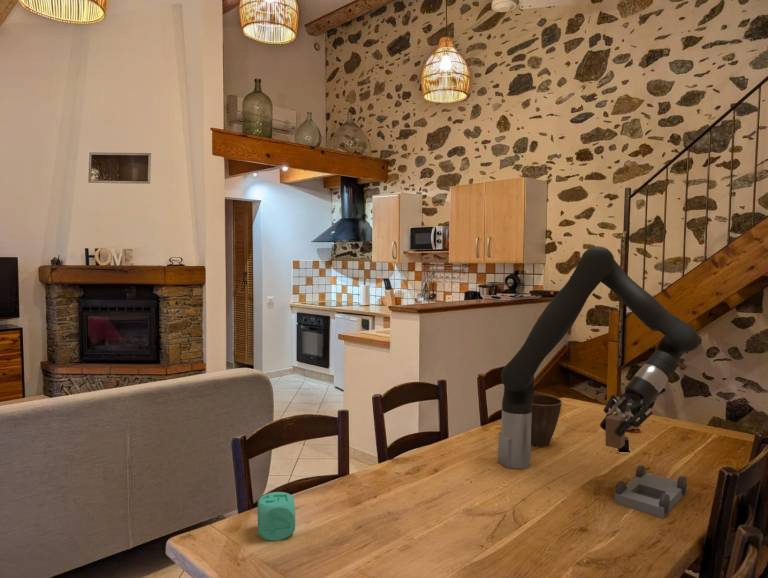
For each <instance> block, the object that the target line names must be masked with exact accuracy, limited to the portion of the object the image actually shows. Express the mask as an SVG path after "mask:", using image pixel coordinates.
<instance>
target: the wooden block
mask: <svg viewBox="0 0 768 578" xmlns="http://www.w3.org/2000/svg"><path fill="white" fill-rule="evenodd" d="M605 417H606V416H605ZM622 421H623V422H624V417H623V416H617V415H614V414H613V415H609V416H607V417H606V430H605V446H607V447H610V448H614V449H615V448H618V449H620V448H622V447H623V446H624V445H625V437H626V433H625V434H624V435H622V436H621V437H619V436H617V435H616V434H615V432H614V431H615V429H616V428H617V427H618V426H619V424H620V423H621V422H622Z"/></svg>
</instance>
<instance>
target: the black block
mask: <svg viewBox="0 0 768 578" xmlns="http://www.w3.org/2000/svg"><path fill="white" fill-rule="evenodd" d="M629 446H630V439H629V437H628V436H625V445H624V446H623V447H622V448H620V449H618V448H617V449H618V450H617V451H619V452H629V453H630V450H629Z"/></svg>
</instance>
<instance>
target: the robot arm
mask: <svg viewBox="0 0 768 578" xmlns="http://www.w3.org/2000/svg"><path fill="white" fill-rule="evenodd" d="M601 283H602V284H603V285H605V286H606V287H607V288H608V289H609V290H610V291H612V292H613V293H614V294H615V295H616V296H617V297H618V298H619V300H621V301H622V302H623V304H624V305H625V306H626V307H627V308H628V309H629V310H630V312H632V313H633V314H634V316H635V317H636V318H637V319H639V320H640V321H641V323H642V324H644V325H645V326H646V327H647V328H648V329H650V331H654V332H659V333H661V334H663V335H664V336H663V337H662V338H661V339H660V341H659V342H658V344H657V346H656V348H655V350H654V353H652V355H651V356H649V358H647V361H646V362H645V363H644V364H643V366H641V367H639V370H637V372H636V373H635V374H634V376H633V377H632V378H631V379H630V381H629V382H628V383H627V385H625V387H624V393H623V394H622V395H620V396H616V395H615V394H612V395H611V396H610V398H609V400H608V401H607V403H606V405H605V407H604V408H603V412H604V413H605V414H606V416H605V417H604V418H603V419H602V421H600V424H599V427H600V428H601V429H602V430H603V431H606V417H607V416H609V415H617V416H622V415H624V414H625V417H624V422H623V421H622V422H621V423H620V424H619V426H618V427H617V428H616V429H615V431H614V432H615V434H616V435H617V436H619V437H621V436H622V435H624V434H625V435H626V432H627V431H629V430H628V428H629V427H632V426H635V427H639V426H640V425H641V426H642V424H643V423H644V422H645V421H646V420H647V419H649V417H650V416H652V414H653V410H652V409H651V408H650V407H649V406H650V405H651V404H652V403H653V402H654V400H655V399H656V398H657V397H658V395H659V394H660V393H661V392H662V390H663V389H664V388H665V386H666V384H667V383H668V380H669V379H670V378H671V377H672V376H673V374H674V373H675V372H676V370H677V368H678V366H679V360H680V358H681V357H682V356H683V355H684V354H685V353H690V352H693V351H695V350H696V349H697V348H698V347H699V346H700V344H701V342H700V341H701V339H700V335H699V333H698V332H697V331H696V329H695V328H694V327H692V326H691V325H690V324H688V323H687V322H686V321H684V320H682V319H681V318H679V317H678V316H676V315H674V314H672V313H671V312H669V310H667V308H665V307H664V305H662V304H661V303H660V301H658V300H657V299H656V298H654V297H653V296H652V295H651V294H650V293H649V292H648V291H646V290H645V289H644V288H643V287H641V286H640V285H639V284H638V283H637V282H635V281H634V280H633V279H632V278H631V277H630V276H629V275H628V274H627V273H626V272H625V271H624V270H623V269H622V267H621V266H620V264H618V262H617V261H616V260H615V257H614V254H613V253H612V252H611V250H610V249H608V248H606V247H605V246H602V245H601V246H599V245H597V246H592V247H589V248H588V249H586V250H585V251H584V252H583V253H582V255H581V256H580V259H579V261H578V263H577V266H576V267H575V269H574V271H573V272H572V274H571V276H570V278H568V280H567V282H566V283H565V284H564V286H562V287H561V289H560V290H559V291H558V292H557V293H556V294H555V296H554V297H553V298H552V299H551V300H550V302H548V304H547V305H546V307H545V308H544V309H543V311H542V313H541V314H540V316H539V317H538V318H537V320H536V322H535V323H534V325H533V327H532V329H531V330H530V332H529V334H528V336H527V338H526V340H524V343H523V345H522V346H521V347H520V349H519V350H518V351H517V352H516V353H515V355H514V356H513V357H512V358H511V360H510V361H508V362H507V364H505V366H504V367H503V368H502V370H501V375H500V377H501V383H502V384H503V387H504V388H503V397H502V401H501V424H500V425H501V428H500V429H501V431H500V432H498V439H497V440H498V448H497V462H498V463H500V464H501V465H502V466H504V467H505V468H506V469H515V470H516V469H517V470H522V469H523V470H525V469H528V468H529V467H531V454H532V453H531V451H532V445H531V424H532V404H533V394H534V389H535V375H536V372H537V371H538V369H539V368H540V366H541V364H542V362H543V361H544V359H545V358H546V357H547V356H548V355H549V354H550V353H551V352H552V351H553V349H555V348H556V346H557V345H558V344H559V343H561V341H562V340H563V338H564V337H565V336H566V334H567V333H568V331H569V330H570V329H571V328H572V326H573V325H574V323H575V321H576V320H577V319H578V317H579V315H580V313H581V311H582V310H583V309H584V306H585V304H586V302H587V300H588V299H589V297H590V296H591V294H592V293H593V291H594V290H595V289H596V288H597V287H598V285H600V284H601ZM637 419H639V420H638V421H636V420H637Z"/></svg>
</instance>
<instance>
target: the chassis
mask: <svg viewBox="0 0 768 578" xmlns="http://www.w3.org/2000/svg"><path fill="white" fill-rule="evenodd" d="M687 492H688V481H687V477H686V476H683V475H679V477H678V480H677V479H673V478H668V477H666V476H662V475H657V474H655V473H654V474H653V473H650V472H647V469H646V466H643V465H638V466H637V469H636V472H635V476H634V477H633V478H632V479H631V480H629V481H628V482H627V483H626V482H625V481H622V480H619V481H618V482H617V483H616V487H615V493H614V496H613V497H614V500H613V502H614V503H613V504H617V505H620V506H623V507H627V508H629V509H632V510H636V511H638V512H642V513H645V514H649V515H652V516H654V517H658V518H660V519H664V517H666V516H667V514H669V513H670V511H671V510H672V509H673V508H674V506H676V505H677V503H678V502H679V501H680V500H681V499H683V497H684V496H685V494H687Z"/></svg>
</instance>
